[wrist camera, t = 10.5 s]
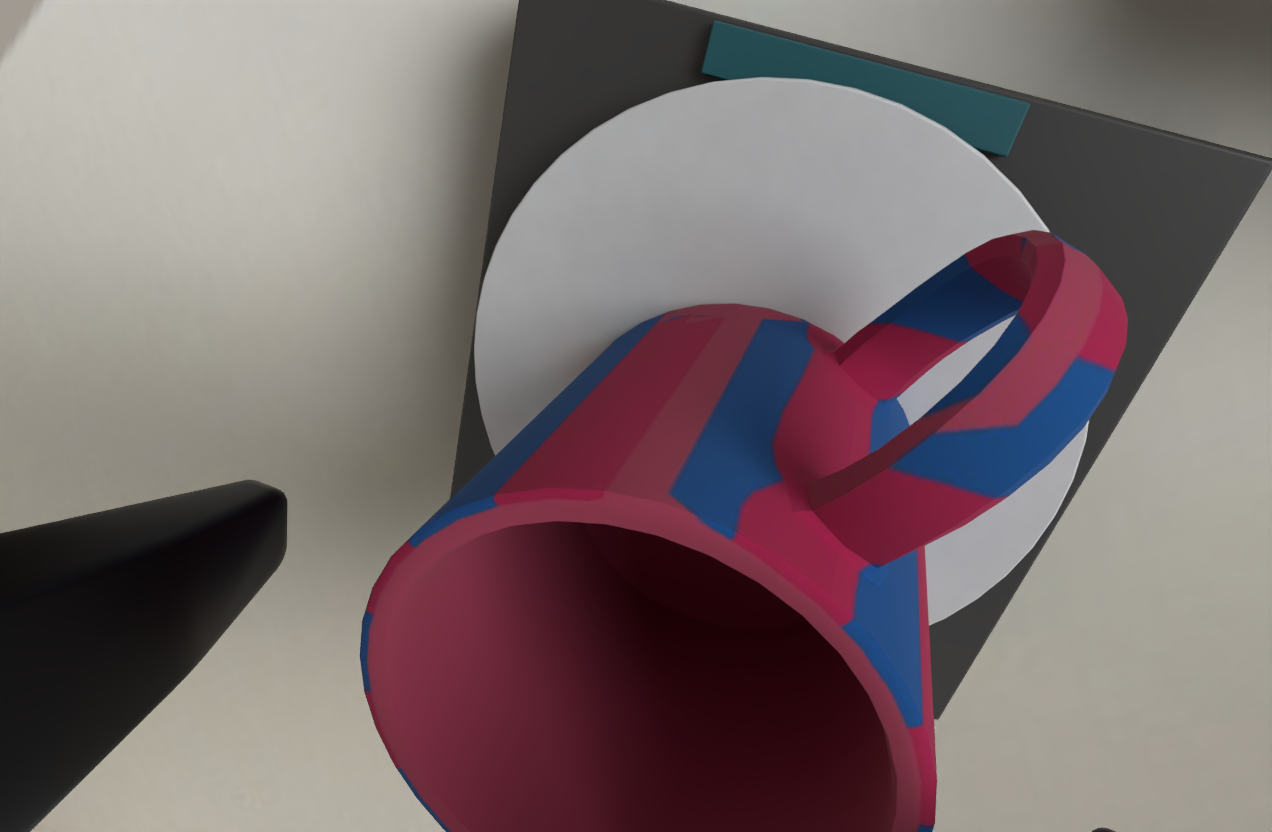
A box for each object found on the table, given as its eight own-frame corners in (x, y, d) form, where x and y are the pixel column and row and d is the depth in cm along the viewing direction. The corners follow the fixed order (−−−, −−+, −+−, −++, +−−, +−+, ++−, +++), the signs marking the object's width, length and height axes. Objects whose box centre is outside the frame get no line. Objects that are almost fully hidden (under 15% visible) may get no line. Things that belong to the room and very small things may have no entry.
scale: (933, 646, 19) (940, 758, 16) (493, 475, 21) (422, 546, 18) (1217, 144, 13) (1313, 168, 10) (576, -23, 15) (495, -46, 12)
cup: (504, 441, 16) (268, 665, 10) (918, 62, 11) (940, 57, 5) (720, 668, 16) (621, 1004, 11) (1200, 404, 12) (1512, 754, 6)
